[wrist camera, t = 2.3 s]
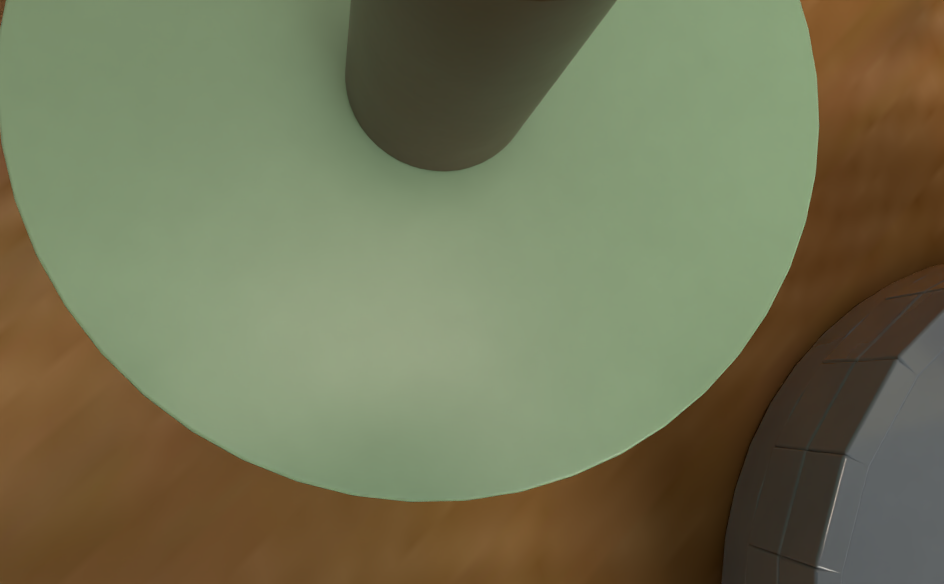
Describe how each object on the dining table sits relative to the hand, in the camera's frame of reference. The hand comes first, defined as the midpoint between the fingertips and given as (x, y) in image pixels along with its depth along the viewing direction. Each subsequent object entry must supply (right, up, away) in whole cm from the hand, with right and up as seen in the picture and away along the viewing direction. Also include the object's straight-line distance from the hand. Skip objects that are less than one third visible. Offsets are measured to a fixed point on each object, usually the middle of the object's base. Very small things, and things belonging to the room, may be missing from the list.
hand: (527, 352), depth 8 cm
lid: (-1, +4, +6) cm, 7 cm away
